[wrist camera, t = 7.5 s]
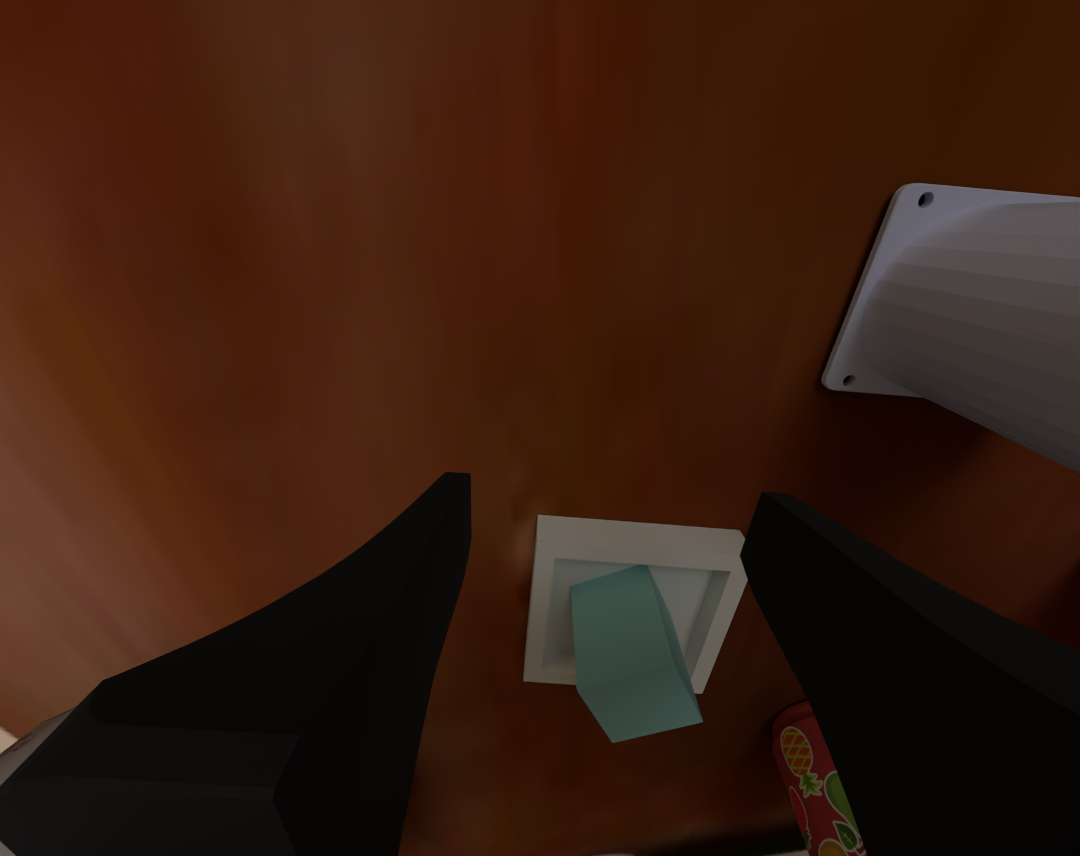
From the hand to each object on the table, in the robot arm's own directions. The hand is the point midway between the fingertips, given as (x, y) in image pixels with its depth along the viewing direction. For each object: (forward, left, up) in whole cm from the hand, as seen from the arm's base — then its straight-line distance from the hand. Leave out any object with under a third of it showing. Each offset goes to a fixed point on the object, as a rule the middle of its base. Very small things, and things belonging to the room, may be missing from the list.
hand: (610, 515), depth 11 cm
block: (-4, +13, -9) cm, 17 cm away
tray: (-4, +13, -10) cm, 17 cm away
